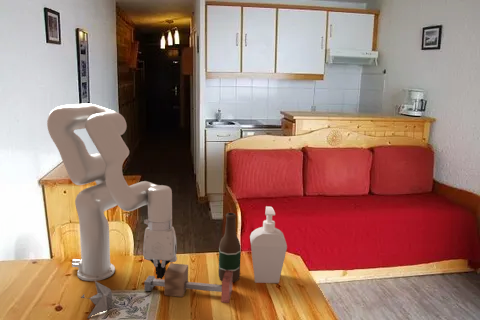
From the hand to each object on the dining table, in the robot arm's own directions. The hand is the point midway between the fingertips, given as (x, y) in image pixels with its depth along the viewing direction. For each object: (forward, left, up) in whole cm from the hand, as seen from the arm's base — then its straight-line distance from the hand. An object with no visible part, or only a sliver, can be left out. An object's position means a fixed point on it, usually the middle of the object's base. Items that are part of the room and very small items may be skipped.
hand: (160, 276), depth 131 cm
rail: (+9, 0, -5) cm, 10 cm away
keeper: (+5, 0, -5) cm, 7 cm away
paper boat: (-16, -13, -5) cm, 21 cm away
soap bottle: (+34, +15, -5) cm, 38 cm away
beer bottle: (+21, +12, -5) cm, 25 cm away
